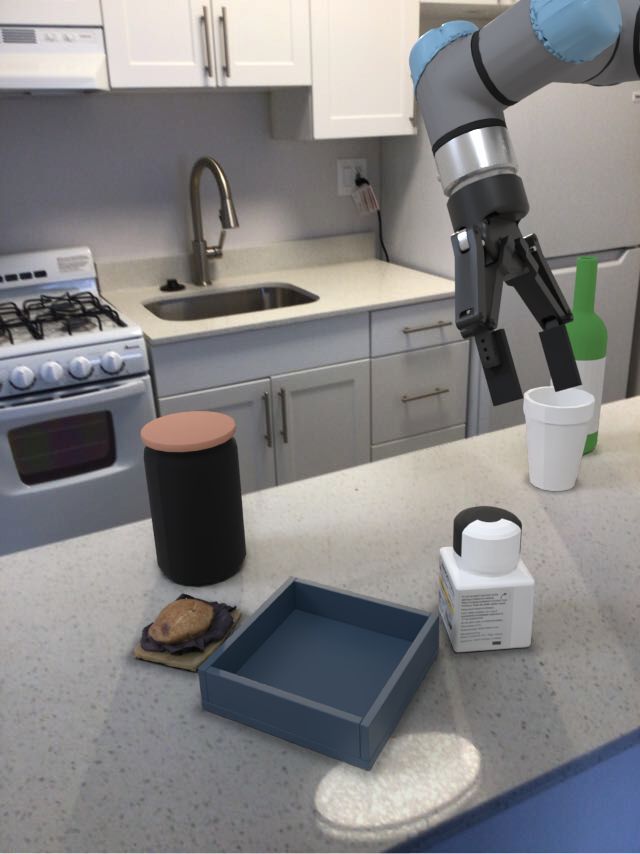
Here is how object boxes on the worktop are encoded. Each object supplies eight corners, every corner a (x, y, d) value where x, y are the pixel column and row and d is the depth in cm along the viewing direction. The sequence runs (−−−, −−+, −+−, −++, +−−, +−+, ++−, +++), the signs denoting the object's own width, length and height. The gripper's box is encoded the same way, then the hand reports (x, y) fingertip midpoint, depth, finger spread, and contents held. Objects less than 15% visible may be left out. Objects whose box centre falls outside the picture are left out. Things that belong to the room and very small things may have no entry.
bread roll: (199, 677, 73) (195, 645, 71) (125, 658, 76) (121, 627, 74) (249, 614, 82) (246, 585, 81) (181, 599, 85) (178, 571, 83)
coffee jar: (264, 556, 93) (255, 420, 86) (206, 599, 85) (190, 452, 78) (200, 535, 99) (186, 405, 92) (139, 573, 90) (119, 433, 84)
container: (437, 608, 81) (439, 500, 77) (508, 603, 82) (514, 495, 77) (454, 654, 74) (458, 538, 70) (531, 648, 75) (540, 532, 70)
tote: (439, 652, 75) (439, 614, 73) (369, 771, 61) (368, 727, 59) (293, 611, 82) (291, 575, 80) (202, 709, 68) (197, 668, 67)
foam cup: (590, 473, 112) (598, 390, 107) (582, 500, 104) (591, 411, 99) (524, 464, 115) (530, 383, 111) (512, 489, 108) (517, 403, 103)
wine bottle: (578, 461, 116) (597, 263, 105) (535, 447, 122) (549, 258, 111) (606, 447, 121) (626, 256, 110) (563, 434, 126) (579, 252, 115)
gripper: (507, 213, 86) (557, 392, 85) (378, 190, 67) (441, 419, 66) (568, 184, 81) (623, 374, 80) (448, 151, 62) (517, 398, 61)
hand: (540, 395), depth 73 cm, fingers open, 13 cm apart
